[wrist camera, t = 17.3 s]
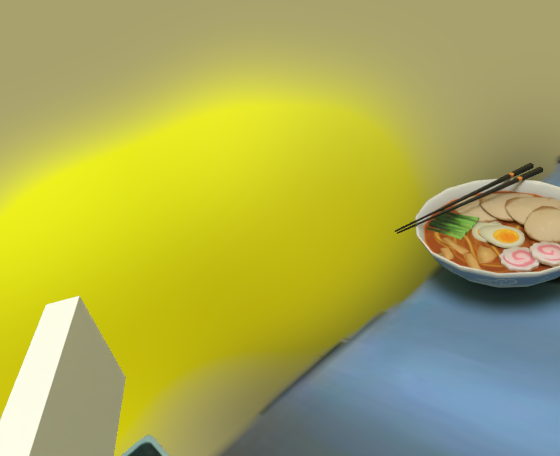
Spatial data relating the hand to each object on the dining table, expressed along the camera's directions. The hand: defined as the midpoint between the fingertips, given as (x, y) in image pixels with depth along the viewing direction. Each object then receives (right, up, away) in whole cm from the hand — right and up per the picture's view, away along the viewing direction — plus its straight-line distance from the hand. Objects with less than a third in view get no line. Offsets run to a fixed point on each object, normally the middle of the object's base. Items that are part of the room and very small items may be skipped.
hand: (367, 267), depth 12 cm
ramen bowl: (+29, -4, +58) cm, 65 cm away
